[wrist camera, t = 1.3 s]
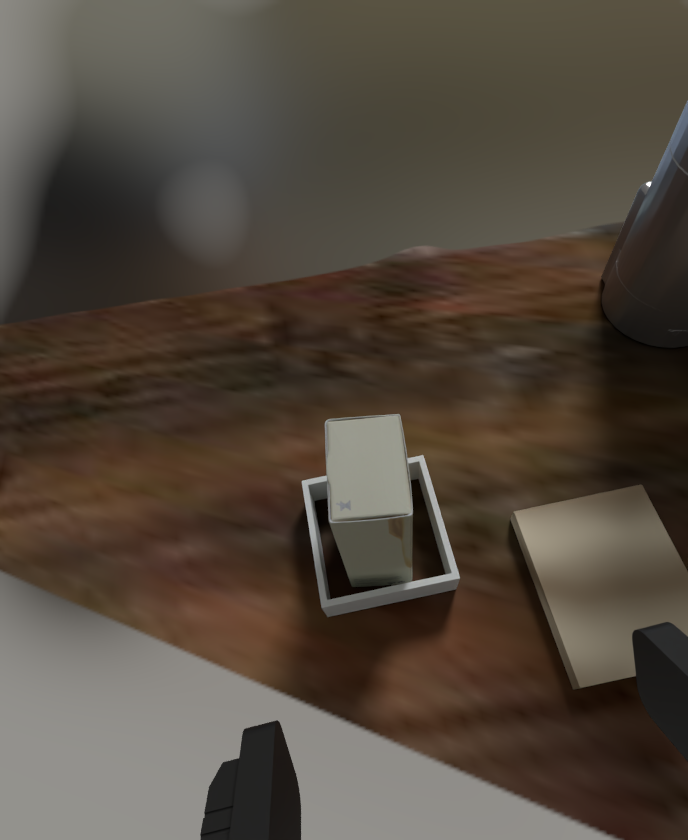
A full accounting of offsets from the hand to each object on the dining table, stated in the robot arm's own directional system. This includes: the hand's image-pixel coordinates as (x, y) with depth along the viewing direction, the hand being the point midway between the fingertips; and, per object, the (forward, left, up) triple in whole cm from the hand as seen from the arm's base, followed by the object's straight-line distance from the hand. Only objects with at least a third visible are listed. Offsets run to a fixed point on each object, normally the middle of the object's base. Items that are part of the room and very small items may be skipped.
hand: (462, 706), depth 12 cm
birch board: (-6, +14, -24) cm, 28 cm away
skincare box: (-12, 0, -24) cm, 27 cm away
